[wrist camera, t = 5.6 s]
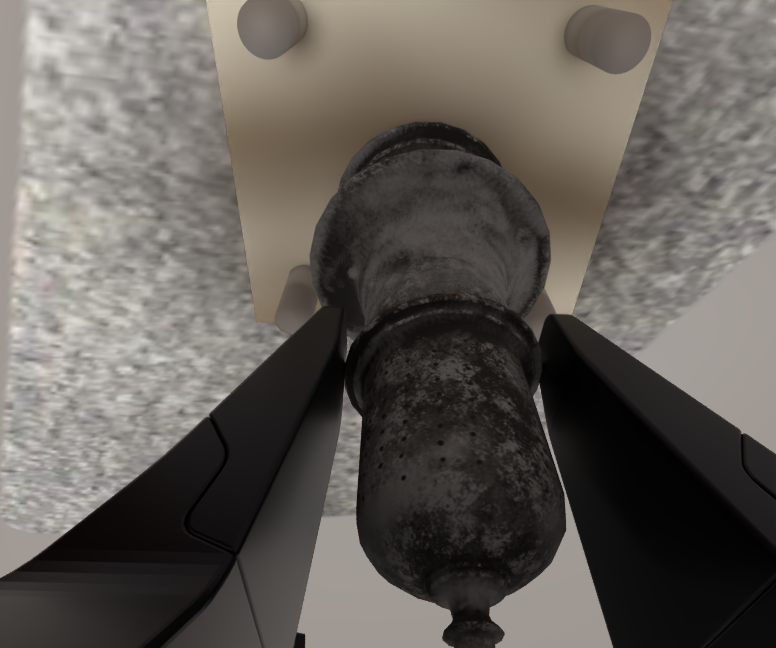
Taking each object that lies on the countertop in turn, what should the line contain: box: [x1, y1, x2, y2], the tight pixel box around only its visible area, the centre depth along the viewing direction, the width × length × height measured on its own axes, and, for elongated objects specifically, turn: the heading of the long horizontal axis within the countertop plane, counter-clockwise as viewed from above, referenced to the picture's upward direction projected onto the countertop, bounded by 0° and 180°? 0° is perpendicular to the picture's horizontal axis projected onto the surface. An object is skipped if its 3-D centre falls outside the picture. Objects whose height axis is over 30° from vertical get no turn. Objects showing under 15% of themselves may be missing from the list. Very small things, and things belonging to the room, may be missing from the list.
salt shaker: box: [309, 122, 566, 648], centre depth 10 cm, size 6×6×12 cm
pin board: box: [206, 0, 673, 342], centre depth 15 cm, size 12×12×4 cm
